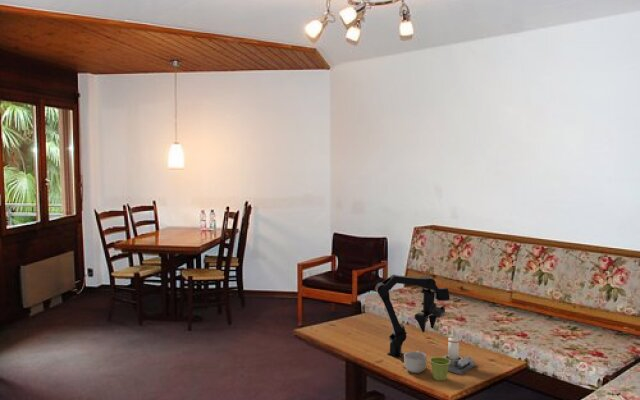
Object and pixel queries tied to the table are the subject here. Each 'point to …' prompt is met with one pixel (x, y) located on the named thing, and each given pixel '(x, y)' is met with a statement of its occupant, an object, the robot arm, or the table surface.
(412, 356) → the teacup
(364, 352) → the table surface
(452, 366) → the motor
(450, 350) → the white tall cylinder
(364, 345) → the table surface
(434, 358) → the plant pot
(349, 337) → the table surface
